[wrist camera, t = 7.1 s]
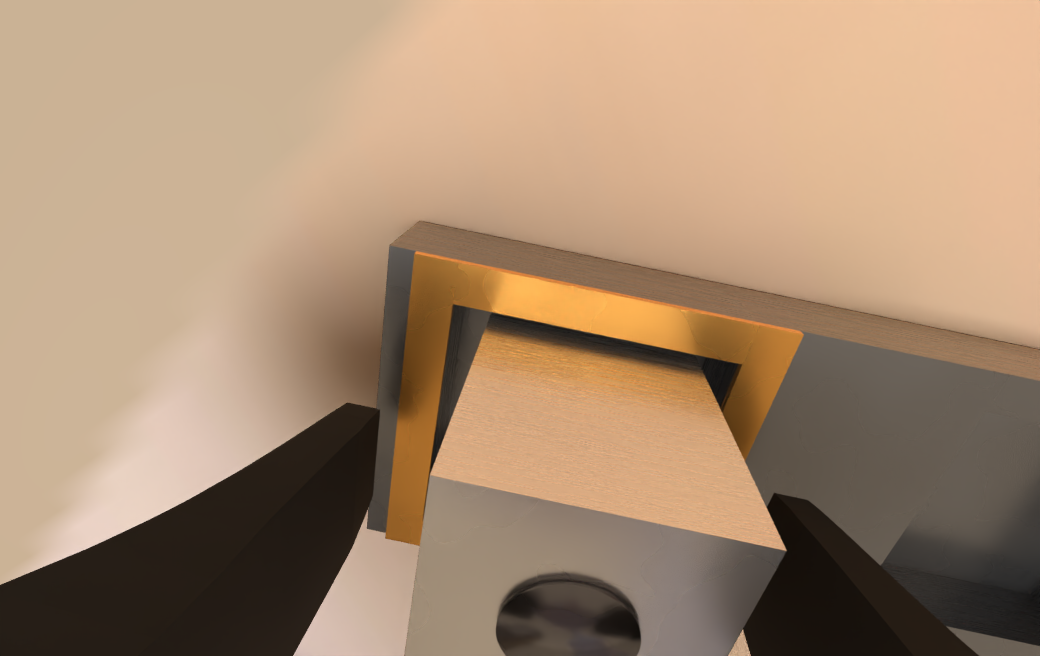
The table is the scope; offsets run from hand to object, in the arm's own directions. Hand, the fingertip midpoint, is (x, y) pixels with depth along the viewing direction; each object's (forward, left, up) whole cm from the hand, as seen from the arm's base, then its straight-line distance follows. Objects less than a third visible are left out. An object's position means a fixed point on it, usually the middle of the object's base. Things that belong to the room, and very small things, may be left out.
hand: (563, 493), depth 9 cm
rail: (0, -5, -3) cm, 6 cm away
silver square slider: (0, 0, -3) cm, 3 cm away
